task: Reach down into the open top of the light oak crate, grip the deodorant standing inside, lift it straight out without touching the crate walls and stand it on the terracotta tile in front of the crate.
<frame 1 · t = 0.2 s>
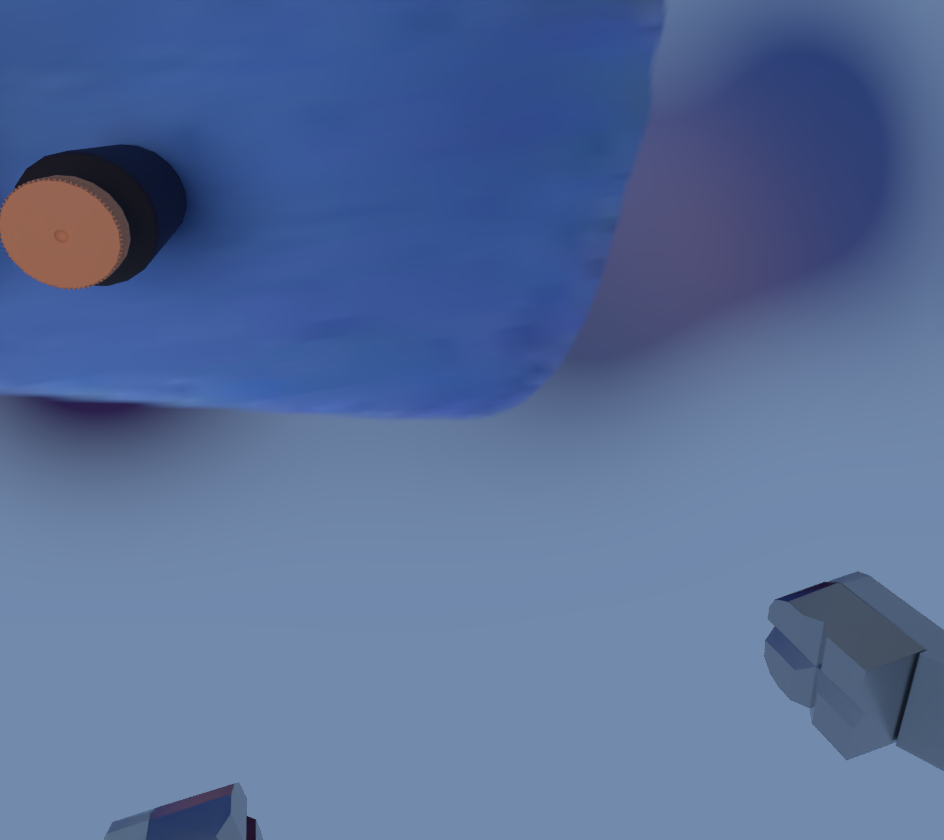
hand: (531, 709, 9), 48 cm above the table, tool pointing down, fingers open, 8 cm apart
bottle: (136, 195, 47), on the table
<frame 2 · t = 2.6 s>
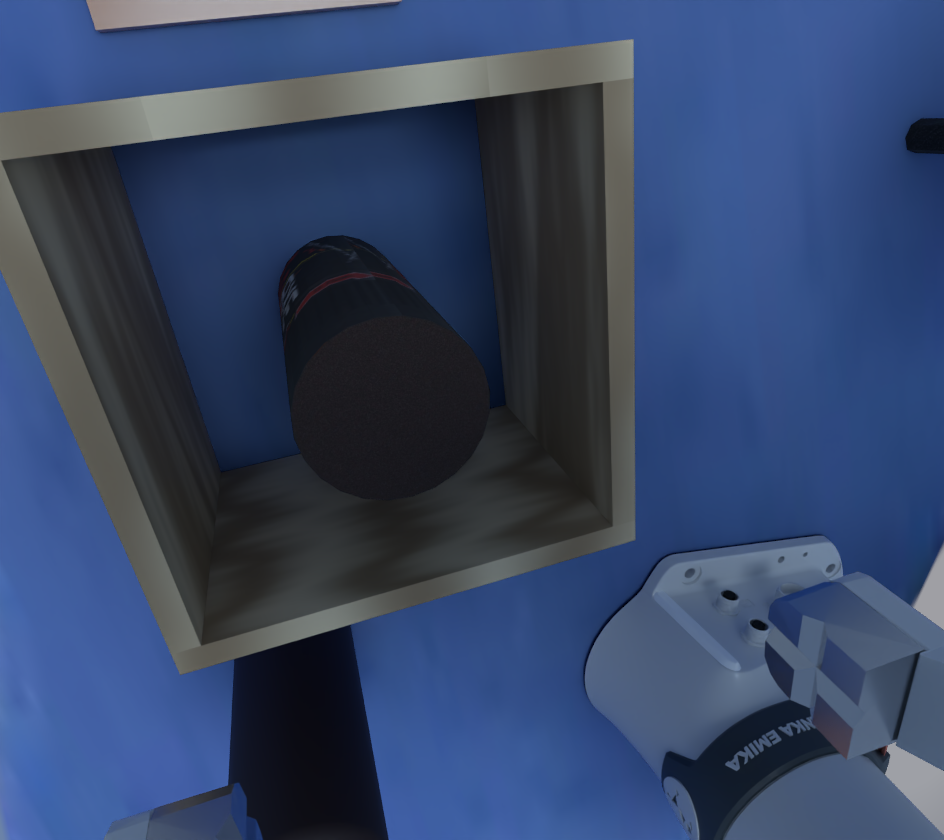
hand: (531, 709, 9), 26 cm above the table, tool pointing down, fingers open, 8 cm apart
deodorant: (339, 295, 32), resting in crate
crate: (340, 296, 32), on the table
bottle: (294, 632, 40), on the table
solar garden light: (915, 135, 38), on the table
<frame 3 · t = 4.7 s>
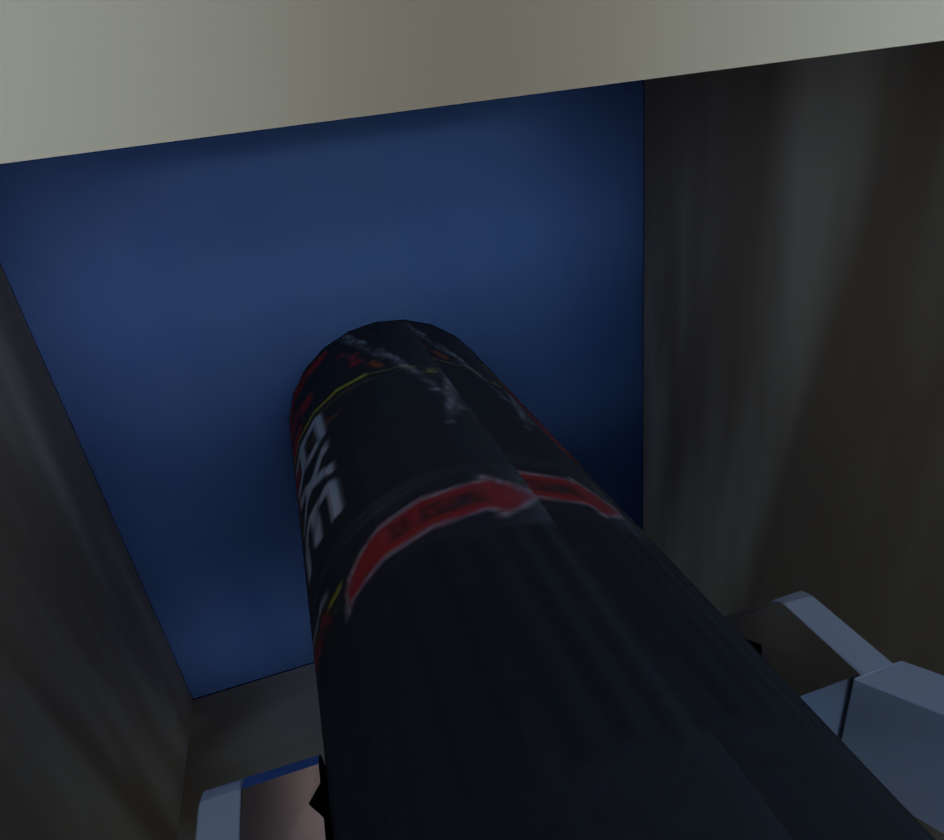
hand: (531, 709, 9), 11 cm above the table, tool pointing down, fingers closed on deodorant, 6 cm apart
deodorant: (394, 416, 19), resting in crate, touching gripper
crate: (396, 419, 19), on the table
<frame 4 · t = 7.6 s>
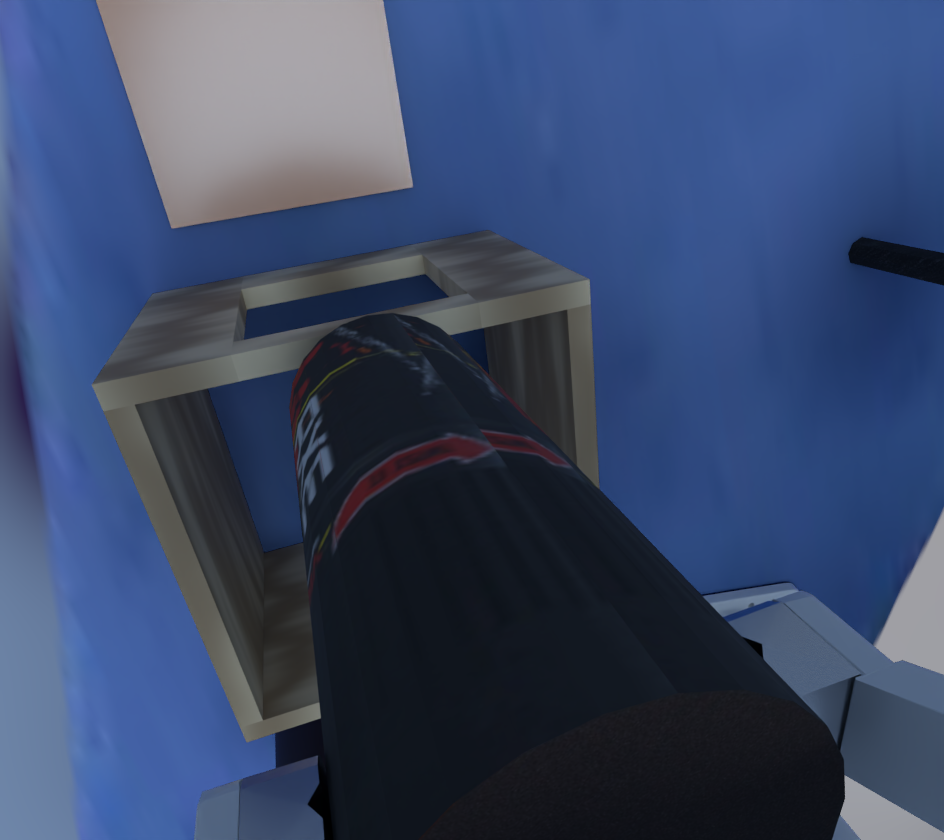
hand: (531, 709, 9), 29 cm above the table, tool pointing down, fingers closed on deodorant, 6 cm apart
deodorant: (386, 403, 20), point 17 cm above the table, touching gripper
crate: (363, 410, 38), on the table
bottle: (323, 679, 46), on the table
solar garden light: (857, 250, 44), on the table
tile: (264, 73, 30), on the table
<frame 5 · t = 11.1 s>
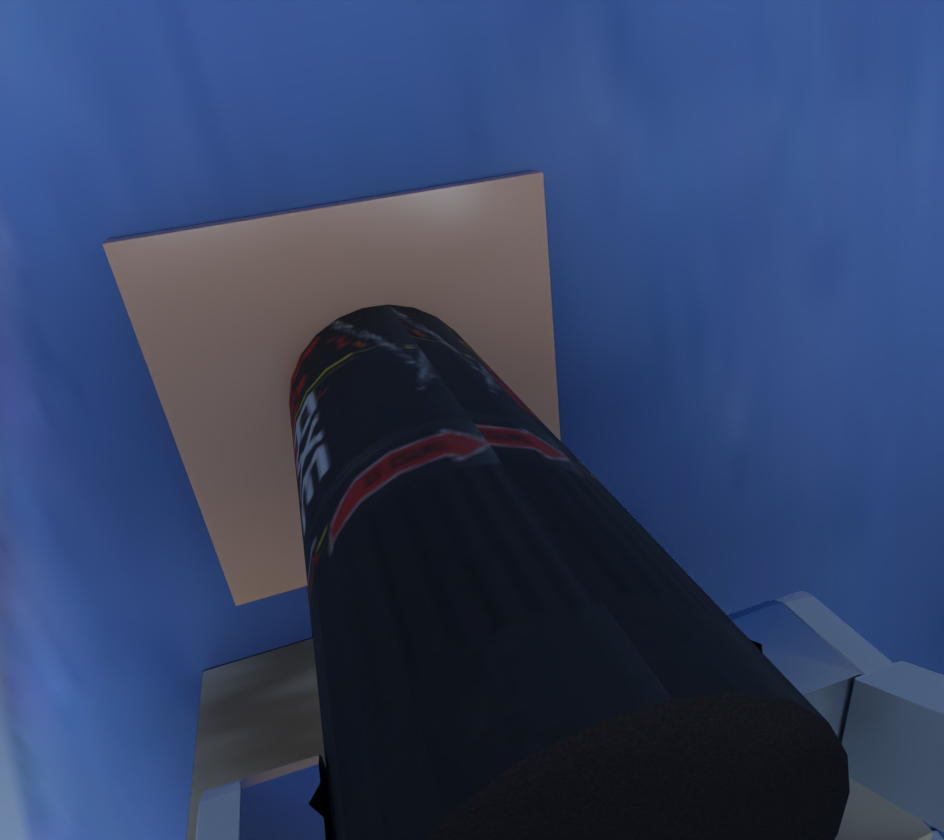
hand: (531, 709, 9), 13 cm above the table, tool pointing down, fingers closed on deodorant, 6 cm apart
deodorant: (386, 395, 20), point 1 cm above the table, touching gripper, tile
crate: (470, 751, 29), on the table
tile: (374, 394, 21), on the table
when the fingers open (12 cm above the table, at t = 11.9 s): deodorant stays where it is, resting on tile.
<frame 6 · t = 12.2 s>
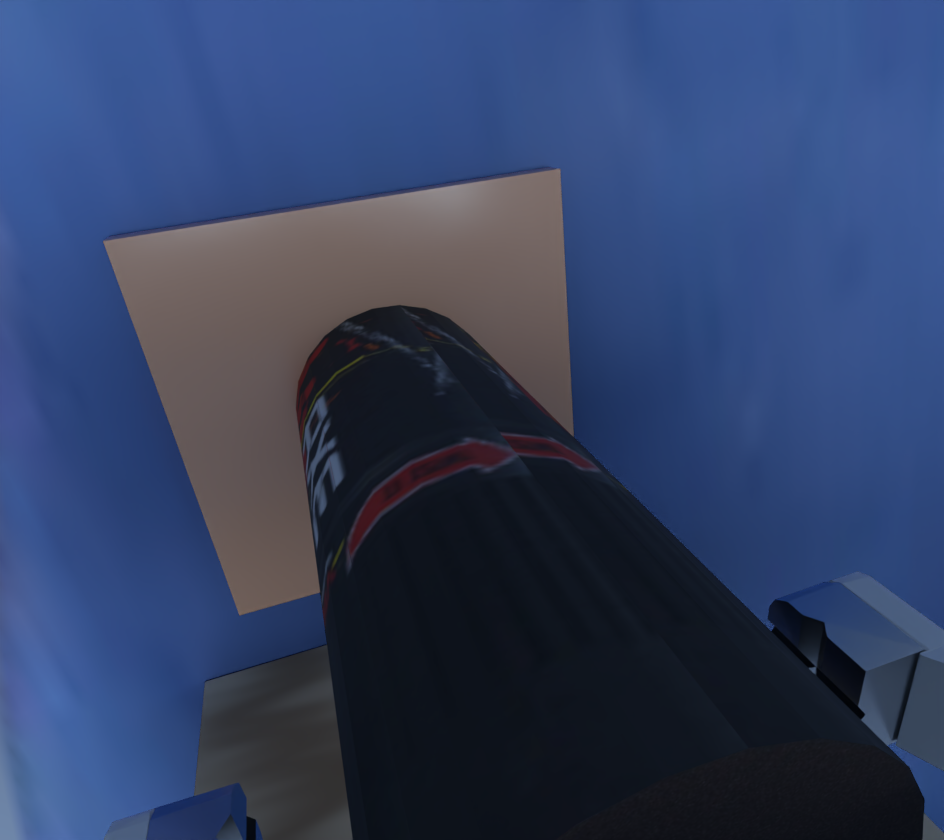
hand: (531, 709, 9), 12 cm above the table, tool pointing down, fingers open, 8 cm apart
deodorant: (396, 399, 20), point 1 cm above the table, touching tile
crate: (477, 762, 28), on the table
tile: (383, 398, 20), on the table
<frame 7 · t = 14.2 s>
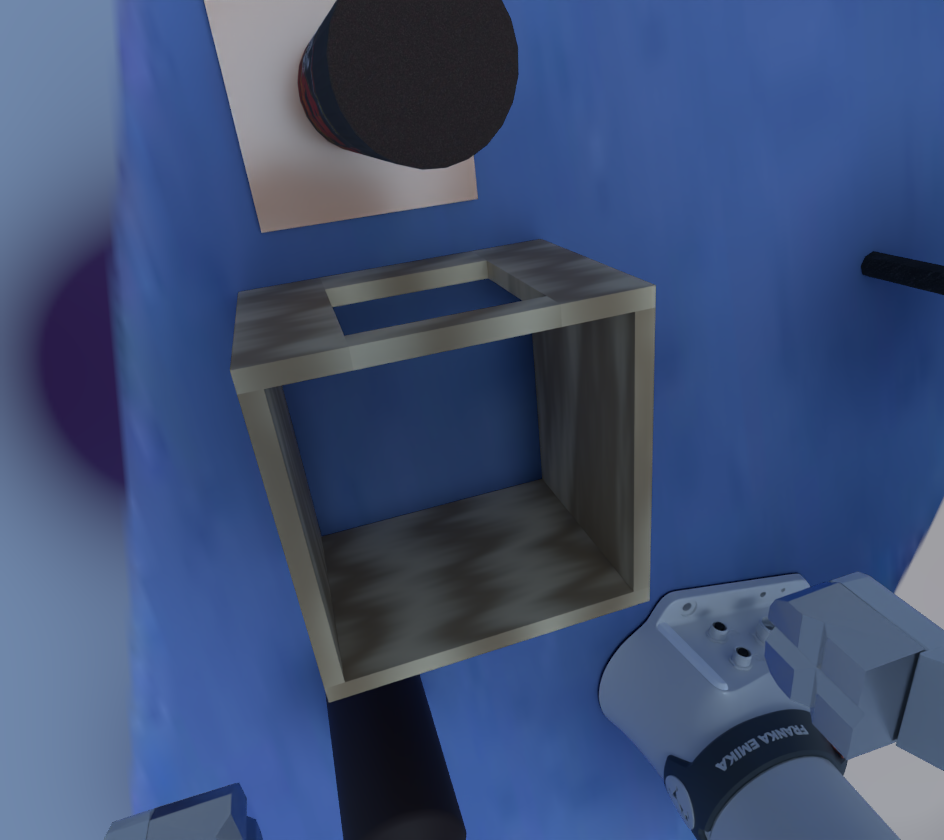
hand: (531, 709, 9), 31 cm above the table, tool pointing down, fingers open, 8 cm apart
deodorant: (357, 89, 33), point 1 cm above the table, touching tile
crate: (419, 403, 41), on the table
bottle: (367, 658, 49), on the table
solar garden light: (869, 263, 48), on the table
tile: (350, 93, 33), on the table
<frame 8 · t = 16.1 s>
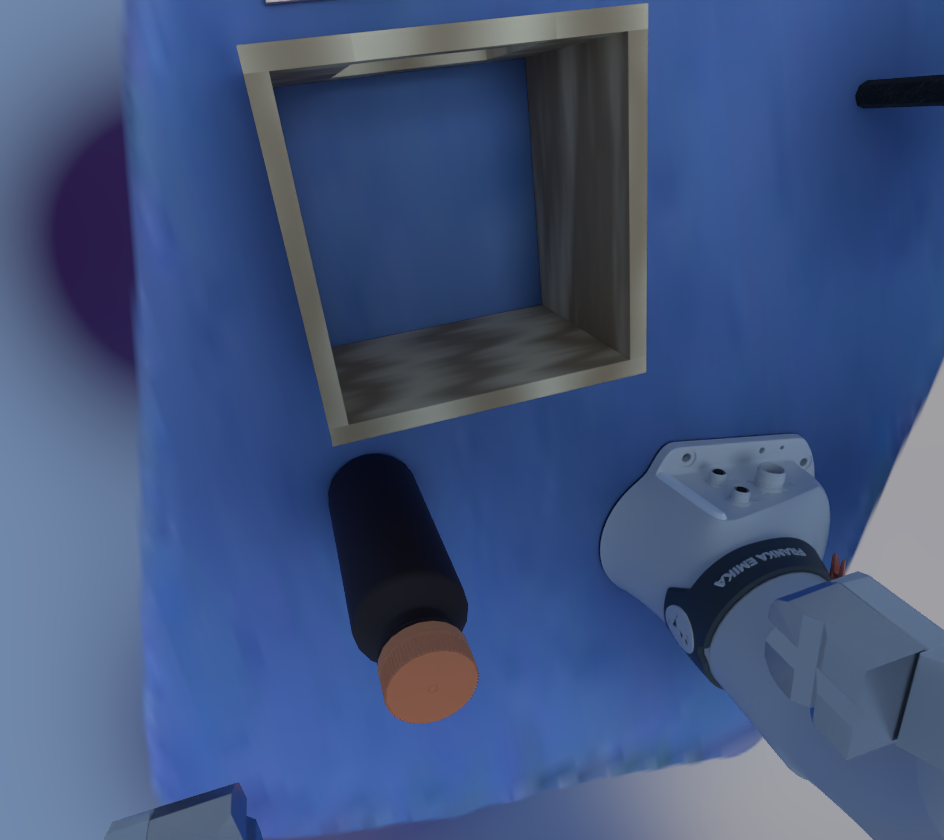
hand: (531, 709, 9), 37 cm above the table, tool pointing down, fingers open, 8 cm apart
crate: (421, 209, 42), on the table
bottle: (371, 490, 50), on the table
solar garden light: (863, 94, 49), on the table
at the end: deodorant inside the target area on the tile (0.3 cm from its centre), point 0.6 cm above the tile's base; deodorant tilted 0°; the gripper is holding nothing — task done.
